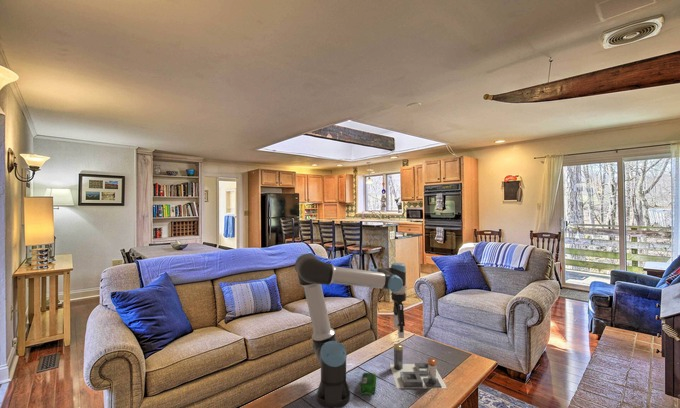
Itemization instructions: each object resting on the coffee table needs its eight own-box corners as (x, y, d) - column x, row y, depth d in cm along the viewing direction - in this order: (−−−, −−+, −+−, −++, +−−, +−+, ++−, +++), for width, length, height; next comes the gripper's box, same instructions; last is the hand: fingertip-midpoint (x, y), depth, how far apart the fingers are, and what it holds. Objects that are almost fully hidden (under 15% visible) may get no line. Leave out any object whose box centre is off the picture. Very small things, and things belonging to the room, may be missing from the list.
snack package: (359, 398, 142) (359, 387, 142) (362, 379, 158) (363, 369, 158) (374, 400, 141) (374, 389, 141) (377, 380, 156) (377, 370, 156)
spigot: (394, 370, 164) (394, 347, 164) (393, 365, 169) (393, 343, 169) (403, 370, 164) (403, 347, 164) (401, 365, 169) (401, 343, 169)
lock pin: (427, 380, 154) (427, 358, 154) (434, 380, 154) (434, 358, 154) (429, 384, 151) (429, 362, 150) (437, 384, 151) (437, 362, 150)
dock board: (396, 389, 149) (396, 388, 149) (389, 365, 171) (389, 363, 171) (447, 389, 149) (447, 388, 149) (433, 365, 171) (433, 364, 171)
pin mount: (403, 387, 149) (403, 382, 149) (400, 376, 158) (400, 371, 158) (422, 387, 149) (422, 382, 149) (418, 376, 158) (418, 371, 158)
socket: (418, 375, 160) (418, 371, 160) (414, 366, 168) (414, 363, 168) (434, 375, 160) (434, 371, 160) (429, 366, 168) (429, 363, 168)
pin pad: (426, 387, 149) (426, 386, 149) (423, 379, 156) (423, 378, 156) (441, 387, 149) (441, 386, 149) (437, 379, 156) (437, 378, 156)
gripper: (410, 300, 154) (410, 342, 154) (401, 286, 179) (401, 322, 179) (395, 300, 154) (395, 342, 154) (388, 286, 179) (388, 322, 179)
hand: (398, 332), depth 167 cm, fingers open, 13 cm apart
